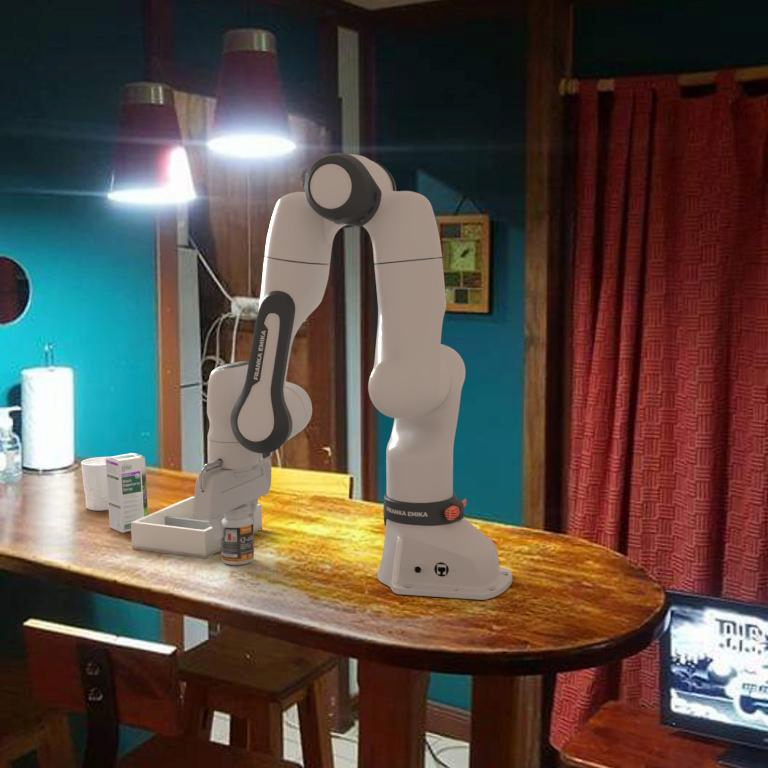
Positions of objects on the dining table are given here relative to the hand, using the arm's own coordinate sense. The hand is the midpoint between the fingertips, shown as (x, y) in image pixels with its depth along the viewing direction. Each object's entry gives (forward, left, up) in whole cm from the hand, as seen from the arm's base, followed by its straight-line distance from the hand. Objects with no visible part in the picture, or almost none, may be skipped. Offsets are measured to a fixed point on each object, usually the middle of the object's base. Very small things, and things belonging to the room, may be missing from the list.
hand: (234, 530), depth 183 cm
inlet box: (+13, -9, -6) cm, 17 cm away
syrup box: (+30, -10, -6) cm, 32 cm away
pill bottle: (-1, 0, -6) cm, 6 cm away
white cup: (+45, -21, -6) cm, 50 cm away
